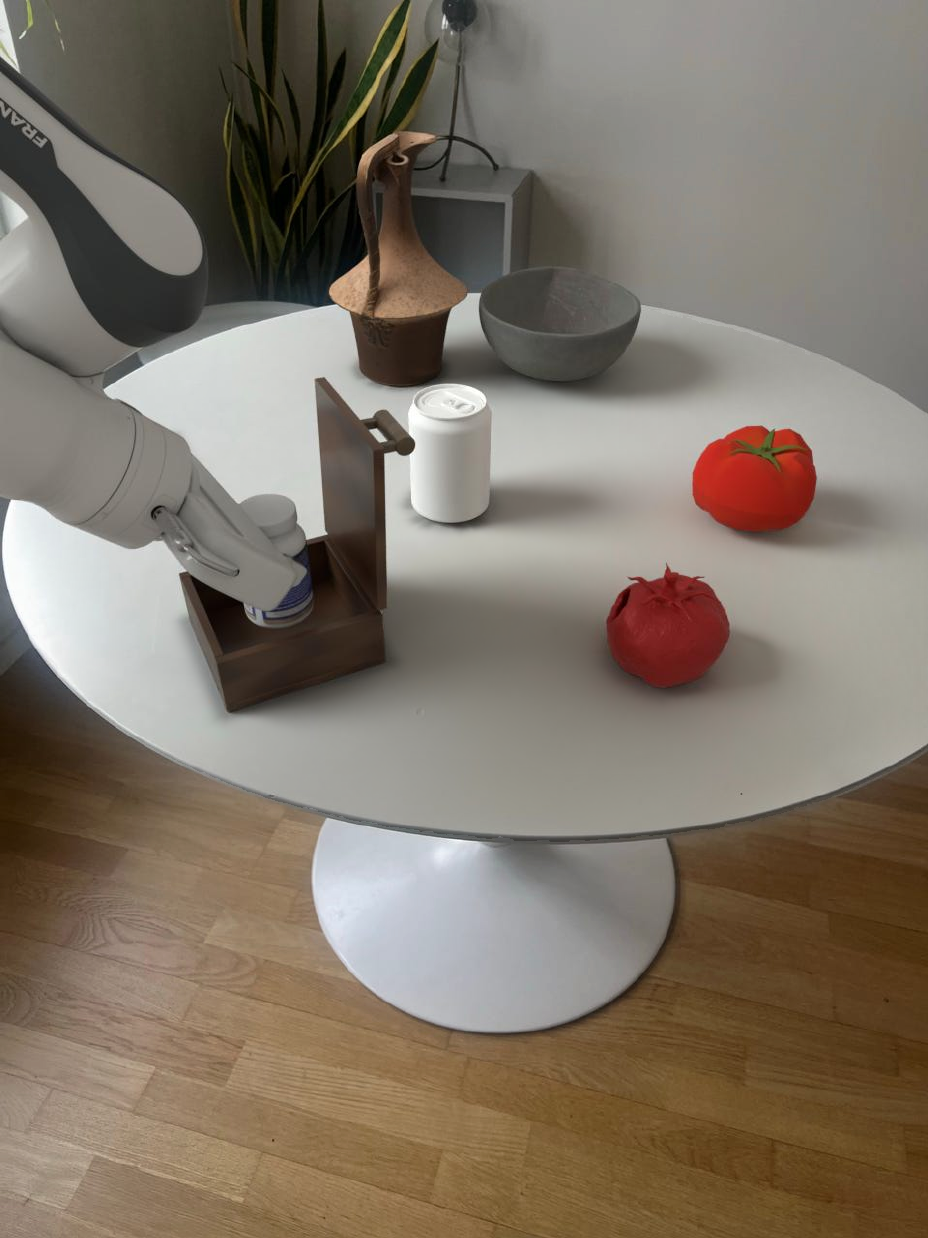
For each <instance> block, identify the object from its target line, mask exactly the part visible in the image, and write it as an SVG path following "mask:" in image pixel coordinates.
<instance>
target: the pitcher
mask: <svg viewBox="0 0 928 1238" xmlns="http://www.w3.org/2000/svg"><path fill="white" fill-rule="evenodd" d="M436 142H438V138H437V136H436V135H434V134H430V133H426V132H415V131H404V130H398V131H395V132H393V133H392V134H388V135H387V136H385V137H384V138H383V139H381V140H379V141H377V142H376V143H375V144H373V145H372V146H370V147H369V148H368V149H367V150H366V151H365V152H363V154H362V155H361V158H360V161H359V164H358V168H357V173H356V201H357V207H358V214H359V216H360V222H361V225H362V230H363V232H364V233H363V235H364V236H363V237H364V238H365V245H366V248H367V255H366V256H365V257H364V259H362V260H361V261H360V262H359V263H358V264H357V265H355V266H354V267H352V268H351V269H350V270H349V271H347V272H346V273H345V274H344V275H342V276H341V277H339V278H338V279H336V280H335V281H334V282H333V283H332V284H331V285H330V287H329V290H328V295H329V298H330V299H331V301H332V302H334V304H335V305H337V306H338V307H340V308H341V309H343V310H345V311H347V312H348V313H349V316H350V320H351V325H352V329H353V333H354V334H353V335H354V338H355V344H356V349H357V351H356V352H357V355H358V356H357V357H358V368H359V371H360V373H361V374H362V376H364V377H366V378H367V379H369V380H371V381H373V382H375V383H379V384H383V385H388V386H412V385H418V384H423V383H426V382H429V381H431V380H432V379H435V378H436V377H438V376H439V375H440V373H441V372H442V370H443V354H444V345H445V339H446V334H447V327H448V321H449V318H450V314H451V311H452V309H453V308H455V307H456V306H457V305H459V304H460V303H462V302H463V301H464V300H465V299H466V298H467V296H468V293H469V292H468V288H467V286H466V285H465V284H464V283H463V282H462V281H461V280H460V279H458V278H457V277H455V276H454V275H452V274H451V273H449V272H448V271H447V270H445V269H444V268H443V267H442V266H441V265H440V264H439V263H438V262H437V261H435V259H434V258H433V257H432V256H431V254H430V253H429V252H428V250H427V248H425V246H424V244H423V242H422V241H421V239H420V236H419V234H418V231H417V228H416V225H415V220H414V216H413V215H414V214H413V208H412V179H413V173H414V169H415V167H416V166H415V165H416V162H417V159H418V156H419V155H420V154H421V153H422V152H423V151H424V150H426V149H427V147H429V146H430V145H433V144H435V143H436ZM374 179H375V181H376V182H377V183H381V185H382V186H383V187H382V215H381V216H382V217H381V224H380V230H379V232H378V227H377V221H376V215H375V205H374V193H373V181H374Z"/></svg>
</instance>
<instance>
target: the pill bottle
mask: <svg viewBox="0 0 928 1238" xmlns="http://www.w3.org/2000/svg"><path fill="white" fill-rule="evenodd" d="M238 504H239V506H240V507H241V508H242V509H243V510H244V512H245V513H246V514H247V515H248V516H249V517H250V518H251V519H252V521H253V522H254V523H255V524H256V525H257V526H258V527H259V529H260V530H261V531H262V532H263V533H264V534H265V535H266V536H267V538H268V539H269V540H270V541H271V542H272V543H273V544H274V545H275V547H276V548H277V549H278V550H279V551H280V552H281V553H282V554H284V553H286V554H288V555H290V556H291V557H293V558H296V559H298V560H299V562H300V563H301V564H302V565H303V566H304V567H305V568H306V569H307V573H306V575H305V576H304V578H303V579H302V580H301V582H300V583H299V585H297V586H292V588H291V589H290V591H289V592H288V593H287V595H286V596H285V598H284V599H283V600H282V602H281V603H280V604H279V605H278V607H277V608H276V609H274V610H271V611H261V610H258V609H256V608H254V607H252V606H249V605H247V604H245V603H244V608H245V612H246V614H247V616H248V618H249V619H250V620H251V621H252V622H253V623H255V624H257V625H259V626H261V627H265V628H272V629H279V628H286V627H290V626H293V625H296V624H298V623H300V622H301V621H303V620H304V619H305V618H307V617H308V616H309V614H310V613H311V611H312V609H313V606H314V596H313V589H312V581H311V573H310V565H309V557H308V549H307V541H306V540H307V535H306V533H305V530H304V528H303V527H302V526H301V525H300V524H299V523H298V513H297V508H296V507H297V506H296V504H295V502H294V501H293V500H292V499H291V498H289V497H288V496H286V495H282V494H277V493H263V494H257V495H254V496H249V497H248V498H246V499H244V500H243V501H240V503H238Z"/></svg>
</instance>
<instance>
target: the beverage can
mask: <svg viewBox="0 0 928 1238" xmlns="http://www.w3.org/2000/svg"><path fill="white" fill-rule="evenodd" d="M492 417H493V415H492V410H491V407H490V405H489V403H488V399H487V396H486V394H484V393H483V392H482V391H481V390H479V389H477V388H475V387H473V386H469V385H465V384H460V383H440V384H434V385H430V386H426V387H424V388H423V389H421V390H419V391H418V392H416V393H415V394H414V396H413V398H412V404H411V405H410V407H409V408H408V412H407V423H408V434H409V435H410V436H411V437H412V438H413V439H414V441H415V449H414V451H413V452H412V453H411V454H409V474H410V498H411V499H410V500H411V501H410V503H411V506H412V508H413V509H414V511H415V512H416V513H417V514H419V515H420V516H421V517H424V518H425V519H427V520H429V521H434V522H437V523H447V524H449V523H450V524H454V523H463V522H467V521H471V520H473V519H476V518H477V517H479V516H481V515H482V514H483V513H484V512H485V511H486V510H487V509H488V507H489V504H490V494H491V491H490V490H491V486H490V485H491V460H492V459H491V455H492V424H493V423H492V422H493V421H492V419H493V418H492Z"/></svg>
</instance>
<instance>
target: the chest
mask: <svg viewBox="0 0 928 1238" xmlns="http://www.w3.org/2000/svg"><path fill="white" fill-rule="evenodd" d="M306 541H307V549H308V557H309V565H310V573H311V581H312V589H313V596H314V606H313V609H312V611H311V613H310V614H309V616H308V617H307V618H305V619H304V620H303V621H301V622H300V623H298V624H296V625H293V626H290V627H286V628H279V629H272V628H265V627H261V626H259V625H257V624H255V623H253V622H252V621H251V620H250V619H249V618H248V616H247V614H246V612H245V608H244V603H243V602H241V601H239V600H237V599H235V598H232V597H230V596H228V595H226V594H224V593H222V592H220V591H218V590H216V589H214V588H212V587H210V586H208V585H207V584H205V583H203V582H202V581H200V580H198V579H197V578H195V577H194V576H193V575H191V574H190V573H189V572H188V571H187V570H185V571H183V572H179V573H178V576H179V577H178V578H179V581H180V585H181V589H182V594H183V598H184V602H185V605H186V610H187V614H188V618H189V623H190V624H191V627H192V629H193V631H194V634H195V636H196V639H197V641H198V644H199V646H200V648H201V651H202V653H203V656H204V659H205V661H206V664H207V666H208V668H209V670H210V673H211V676H212V678H213V680H214V683H215V685H216V688H217V690H218V693H219V695H220V698H221V700H222V702H223V705H224V707H225V710H226V712H227V713H231V712H234V711H236V710H240V709H243V708H245V707H250V706H252V705H255V704H259V703H261V702H262V703H263V702H265V701H268V700H271V699H275V698H278V697H281V696H284V695H287V694H289V693H293V692H296V691H299V690H303V689H306V688H309V687H311V686H315V685H318V684H322V683H325V682H327V681H331V680H334V679H338V678H340V677H343V676H346V675H350V674H352V673H355V672H358V671H362V670H365V669H368V668H371V667H375V666H378V665H381V664H385V663H386V646H385V644H386V643H385V630H384V617H383V616H384V614H383V613H382V610H379V611H378V610H377V609H376V607H375V606H374V604H373V603H372V601H371V600H370V598H369V596H368V595H367V593H366V592H365V590H364V589H363V587H362V586H361V584H360V583H359V581H358V580H357V578H356V577H355V575H354V574H353V572H352V571H351V569H350V567H349V566H348V564H347V563H346V561H345V560H344V558H343V557H342V555H341V554H340V552H339V551H338V549H337V548H336V546H335V545H334V543H333V542H332V540H331V538H330V537H329V535H328V534H327V533H326V534H324V535H320V536H316V537H312V538H308V539H306Z"/></svg>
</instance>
